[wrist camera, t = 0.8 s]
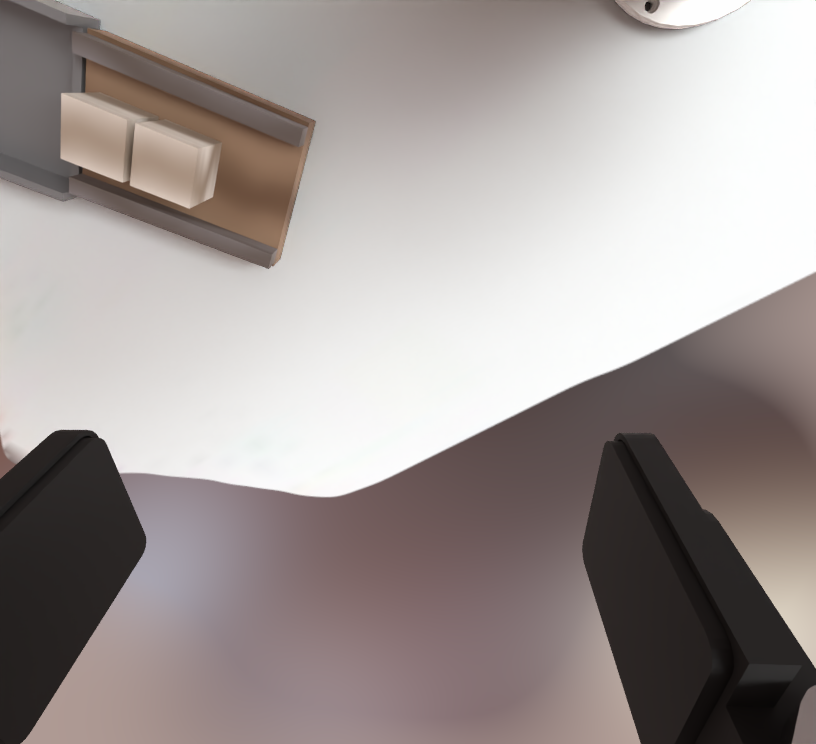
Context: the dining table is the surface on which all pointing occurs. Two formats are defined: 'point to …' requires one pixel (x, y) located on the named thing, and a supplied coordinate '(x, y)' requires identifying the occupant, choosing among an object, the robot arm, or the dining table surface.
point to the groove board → (213, 117)
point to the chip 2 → (174, 162)
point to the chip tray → (38, 91)
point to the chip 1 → (100, 133)
